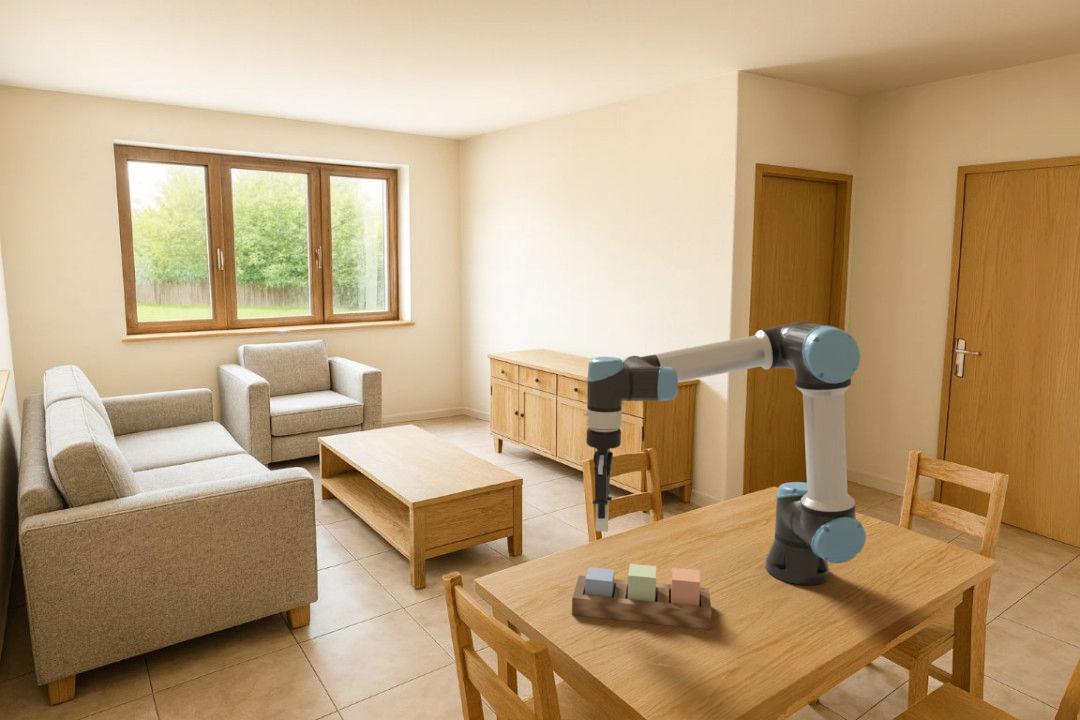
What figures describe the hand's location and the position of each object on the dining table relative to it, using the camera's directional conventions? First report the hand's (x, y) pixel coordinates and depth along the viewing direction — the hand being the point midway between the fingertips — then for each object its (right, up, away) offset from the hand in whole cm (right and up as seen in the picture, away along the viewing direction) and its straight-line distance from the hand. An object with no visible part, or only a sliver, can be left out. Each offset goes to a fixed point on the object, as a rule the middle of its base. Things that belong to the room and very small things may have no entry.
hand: (601, 530), depth 156 cm
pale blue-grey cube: (0, -17, +3) cm, 18 cm away
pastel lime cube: (+9, -16, +1) cm, 18 cm away
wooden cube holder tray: (+9, -18, +1) cm, 20 cm away
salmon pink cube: (+18, -16, -1) cm, 25 cm away
